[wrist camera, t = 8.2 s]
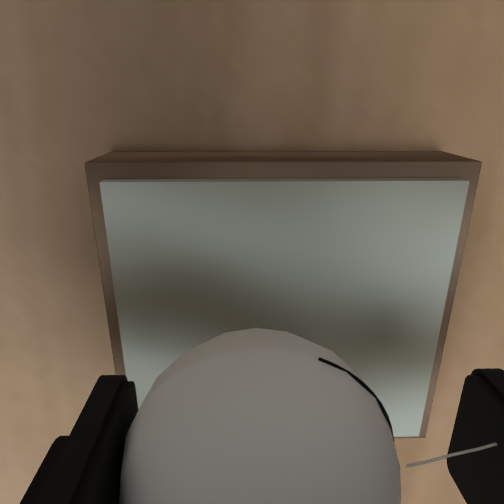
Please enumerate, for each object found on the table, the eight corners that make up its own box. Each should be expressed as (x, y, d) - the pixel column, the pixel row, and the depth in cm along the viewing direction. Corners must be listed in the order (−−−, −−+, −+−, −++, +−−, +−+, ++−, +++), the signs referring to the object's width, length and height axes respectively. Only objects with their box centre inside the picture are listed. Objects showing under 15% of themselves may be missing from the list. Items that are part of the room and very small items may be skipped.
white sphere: (152, 453, 12) (84, 734, 7) (149, 278, 10) (48, 482, 5) (403, 460, 12) (527, 730, 7) (450, 295, 10) (671, 499, 5)
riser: (110, 151, 14) (79, 165, 11) (441, 151, 15) (489, 163, 12) (141, 398, 18) (123, 452, 15) (400, 393, 19) (429, 445, 16)
